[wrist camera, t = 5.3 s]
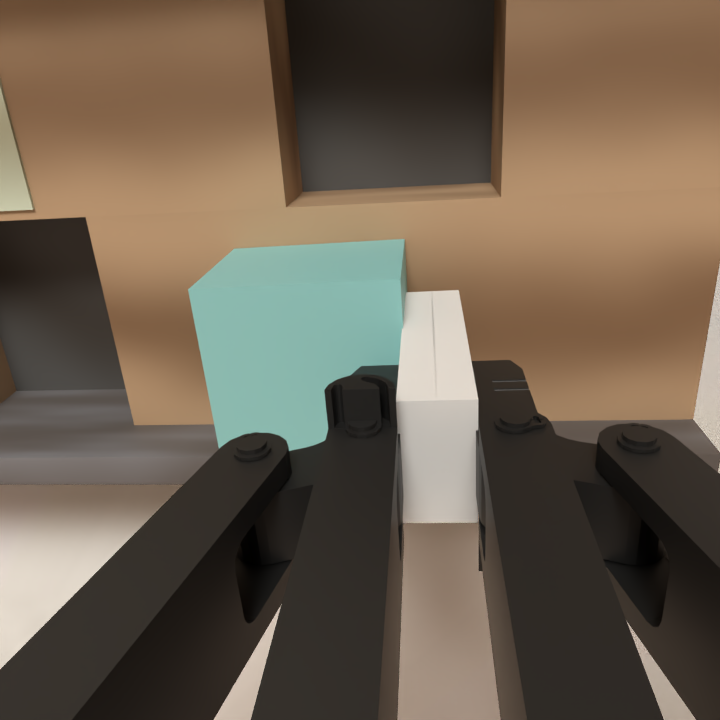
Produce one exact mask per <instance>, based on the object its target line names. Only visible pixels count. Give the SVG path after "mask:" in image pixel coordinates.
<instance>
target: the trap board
mask: <svg viewBox="0 0 720 720" xmlns="http://www.w3.org/2000/svg"><path fill="white" fill-rule="evenodd" d="M394 239H405V254H406V274H407V292H425V291H448V290H459V294H460V300H461V306H462V311H463V317H464V322H465V328H466V333H467V339H468V345H469V350H470V356H471V361H487V360H511V361H512V362H514V363H515V364H516V365H518V366H519V367H521V368H522V369H523V372H524V375H525V378H526V381H527V384H528V386H529V390H530V392H531V395H532V398H533V401H534V403H535V406H536V409H537V412H538V413H539V414H541V415H543V416H545V417H547V418H548V420H549V421H550V422H551V424H552V426H553V428H554V431H555V434H556V435H558V436H561V437H564V438H567V439H570V440H575V441H580V442H586V443H593V444H597V440H598V436H599V433H600V432H601V431H602V430H604V429H605V428H606V427H609V426H613V425H616V424H629V423H639V424H646V425H650V426H652V427H655V428H658V429H661V430H664V431H665V432H667V433H669V434H670V435H672V436H674V437H675V438H676V439H678V440H679V441H680V442H681V443H683V444H684V445H685V446H686V447H687V448H689V449H690V450H691V451H692V452H694V453H695V454H696V455H697V456H698V457H700V458H701V459H702V460H703V461H705V462H706V463H707V464H708V465H709V466H711V467H712V468H713V469H714V470H716V471H717V472H718V468H719V463H720V452H719V451H718V450H717V449H716V447H715V446H714V445H713V444H712V442H711V441H710V440H709V439H708V437H707V436H706V435H705V434H704V432H703V431H702V430H701V429H700V427H699V426H698V425H697V424H696V423H695V421H694V420H693V416H694V410H695V404H696V399H697V393H698V387H699V381H700V375H701V369H702V363H703V357H704V352H705V346H706V340H707V334H708V328H709V322H710V316H711V310H712V305H713V299H714V293H715V287H716V281H717V275H718V269H719V263H720V0H0V484H185V483H186V482H187V481H188V480H189V479H190V478H191V477H192V476H193V475H194V474H195V473H196V472H197V471H198V470H199V469H200V468H201V466H202V465H203V464H204V463H205V462H206V461H207V460H208V459H209V458H210V457H211V456H212V455H213V454H214V453H215V452H216V451H217V450H218V449H219V447H218V441H217V436H216V431H215V426H214V421H213V416H212V411H211V405H210V400H209V395H208V390H207V385H206V380H205V374H204V369H203V364H202V359H201V354H200V349H199V344H198V338H197V333H196V328H195V323H194V318H193V313H192V307H191V302H190V297H189V292H188V289H189V288H190V287H191V286H193V285H194V284H195V283H196V282H197V281H198V280H199V279H200V278H202V277H203V276H204V275H205V274H206V273H207V272H208V271H210V270H211V269H212V268H213V267H214V266H215V265H216V264H217V263H219V262H220V261H221V260H222V259H223V258H224V257H225V256H226V255H228V254H229V253H230V252H231V251H232V250H233V249H237V248H254V247H272V246H289V245H307V244H324V243H342V242H359V241H377V240H394Z"/></svg>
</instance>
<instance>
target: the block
mask: <svg viewBox="0 0 720 720" xmlns="http://www.w3.org/2000/svg"><path fill="white" fill-rule="evenodd" d="M188 292H189V297H190V302H191V307H192V313H193V318H194V323H195V328H196V333H197V338H198V344H199V349H200V354H201V359H202V364H203V369H204V374H205V380H206V385H207V390H208V395H209V400H210V405H211V411H212V416H213V421H214V426H215V431H216V436H217V441H218V447H219V448H220V447H221V446H223V445H224V444H226V443H227V442H228V441H230V440H232V439H234V438H237V437H239V436H241V435H244V434H248V433H249V434H251V433H254V432H259V433H272V434H276V435H279V436H281V437H282V438H284V439H285V440H286V441H287V444H288V447H289V451H291V450H296V449H301V448H306V447H309V446H313V445H316V444H318V443H321V442H323V441H325V440H326V436H327V432H328V421H327V412H326V402H325V393H324V390H325V388H326V387H327V386H328V384H330V383H332V382H333V381H335V380H337V379H340V378H343V377H346V376H350V375H351V374H353V373H354V372H355V371H356V370H357V369H358V368H359V367H361V366H377V365H399V358H400V345H401V333H402V329H403V322H404V309H405V296H406V292H407V274H406V254H405V239H394V240H377V241H359V242H342V243H324V244H307V245H289V246H272V247H254V248H237V249H233V250H232V251H231V252H230V253H229V254H228V255H226V256H225V257H224V258H223V259H222V260H221V261H220V262H219V263H217V264H216V265H215V266H214V267H213V268H212V269H211V270H210V271H208V272H207V273H206V274H205V275H204V276H203V277H202V278H200V279H199V280H198V281H197V282H196V283H195V284H194V285H193V286H191V287H190V288H189V289H188Z"/></svg>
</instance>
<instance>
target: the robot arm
mask: <svg viewBox="0 0 720 720" xmlns="http://www.w3.org/2000/svg"><path fill="white" fill-rule="evenodd" d="M324 393H325V402H326V412H327V421H328V432H327V436H326V440H325V441H323V442H321V443H318V444H316V445H313V446H309V447H306V448H301V449H296V450H291V451H289V447H288V444H287V441H286V440H285V439H284V438H282V437H281V436H279V435H276V434H272V433H259V432H254V433H251V434H249V433H248V434H244V435H241V436H239V437H237V438H234V439H232V440H230V441H228V442H227V443H226V444H224V445H223V446H221V447H220V448H219V449H218V450H217V451H216V452H215V453H214V454H213V455H212V456H211V457H210V458H209V459H208V460H207V461H206V462H205V463H204V464H203V465H202V466H201V468H200V469H199V470H198V471H197V472H196V473H195V474H194V475H193V476H192V477H191V478H190V479H189V480H188V481H187V482H186V483H185V484H184V485H183V486H182V487H181V488H180V489H179V490H178V491H177V492H176V493H175V494H174V495H173V496H172V497H171V498H170V499H169V500H168V501H167V502H166V503H165V504H164V505H163V506H162V507H161V508H160V509H159V510H158V511H157V512H156V513H155V514H154V515H153V516H152V517H151V518H150V519H149V520H148V521H147V522H146V523H145V524H144V525H143V526H142V527H141V528H140V529H139V530H138V531H137V532H136V533H135V534H134V535H133V536H132V537H131V538H130V539H129V540H128V541H127V542H126V543H125V544H124V545H123V546H122V547H121V548H120V549H119V550H118V551H117V552H116V553H115V554H114V555H113V556H112V557H111V558H110V559H109V560H108V561H107V562H106V563H105V564H104V565H103V566H102V567H101V568H100V569H99V570H98V571H97V572H96V573H95V574H94V575H93V576H92V577H91V578H90V579H89V581H88V582H87V583H86V584H85V585H84V586H83V587H82V588H81V589H80V590H79V591H78V592H77V593H76V594H75V595H74V596H73V597H72V598H71V599H70V600H69V601H68V602H67V603H66V604H65V605H64V606H63V607H62V608H61V609H60V610H59V611H58V612H57V613H56V614H55V615H54V616H53V617H52V618H51V619H50V620H49V621H48V622H47V623H46V624H45V625H44V626H43V627H42V628H41V629H40V630H39V631H38V632H37V633H36V634H35V635H34V636H33V637H32V638H31V639H30V640H29V641H28V642H27V643H26V644H25V645H24V646H23V647H22V648H21V649H20V650H19V651H18V652H17V653H16V654H15V655H14V656H13V657H12V658H11V659H10V660H9V661H8V662H7V663H6V664H5V665H4V666H3V667H2V668H1V669H0V720H214V718H215V716H216V714H217V713H218V711H219V709H220V708H221V706H222V704H223V703H224V701H225V699H226V697H227V696H228V694H229V692H230V691H231V689H232V687H233V685H234V684H235V682H236V680H237V679H238V677H239V675H240V674H241V672H242V670H243V668H244V667H245V665H246V663H247V662H248V660H249V658H250V656H251V655H252V653H253V651H254V650H255V648H256V646H257V645H258V643H259V641H260V639H261V638H262V636H263V634H264V633H265V631H266V629H267V628H268V626H269V624H270V622H271V621H272V619H273V617H274V616H275V614H276V612H277V610H278V609H279V607H280V605H281V604H282V605H281V609H280V612H279V616H278V620H277V624H276V627H275V631H274V635H273V639H272V642H271V646H270V650H269V654H268V657H267V661H266V665H265V669H264V672H263V676H262V680H261V684H260V687H259V691H258V695H257V699H256V702H255V706H254V710H253V714H252V717H251V720H397V715H398V687H399V659H400V632H401V604H402V576H403V549H404V534H403V523H478V514H479V571H483V578H484V586H485V594H486V602H487V611H488V619H489V627H490V635H491V643H492V651H493V660H494V668H495V676H496V684H497V692H498V701H499V709H500V717H501V720H664V719H663V716H662V714H661V711H660V709H659V706H658V703H657V701H656V698H655V695H654V693H653V690H652V687H651V685H650V682H649V679H648V677H647V674H646V672H645V669H644V666H643V664H642V661H641V658H640V656H639V653H638V650H637V648H636V645H635V642H634V640H633V637H632V635H631V632H630V629H629V627H628V624H627V622H628V623H629V625H630V626H631V627H632V629H633V630H634V632H635V633H636V635H637V636H638V637H639V639H640V640H641V642H642V643H643V645H644V646H645V647H646V649H647V650H648V652H649V653H650V654H651V656H652V657H653V659H654V660H655V662H656V663H657V664H658V666H659V667H660V669H661V670H662V672H663V673H664V674H665V676H666V677H667V679H668V680H669V682H670V683H671V684H672V686H673V687H674V689H675V690H676V691H677V693H678V694H679V696H680V697H681V699H682V700H683V701H684V703H685V704H686V706H687V707H688V709H689V710H690V711H691V713H692V714H693V716H694V717H695V719H696V720H720V474H719V473H718V472H717V471H716V470H714V469H713V468H712V467H711V466H709V465H708V464H707V463H706V462H705V461H703V460H702V459H701V458H700V457H698V456H697V455H696V454H695V453H694V452H692V451H691V450H690V449H689V448H687V447H686V446H685V445H684V444H683V443H681V442H680V441H679V440H678V439H676V438H675V437H674V436H672V435H670V434H669V433H667V432H665V431H664V430H661V429H658V428H655V427H652V426H650V425H646V424H639V423H629V424H616V425H613V426H609V427H606V428H605V429H604V430H602V431H601V432H600V433H599V436H598V440H597V444H593V443H586V442H580V441H575V440H570V439H567V438H564V437H561V436H558V435H556V434H555V431H554V428H553V426H552V424H551V422H550V421H549V420H548V418H547V417H545V416H543V415H541V414H539V413H538V412H537V409H536V406H535V403H534V401H533V398H532V395H531V392H530V390H529V386H528V384H527V381H526V378H525V375H524V372H523V369H522V368H521V367H519V366H518V365H516V364H515V363H514V362H512V361H511V360H487V361H471V356H470V350H469V345H468V339H467V333H466V328H465V322H464V317H463V311H462V306H461V300H460V294H459V290H448V291H425V292H406V296H405V309H404V322H403V329H402V333H401V345H400V358H399V365H377V366H361V367H359V368H358V369H357V370H356V371H355V372H354V373H353V374H351V375H350V376H346V377H343V378H340V379H337V380H335V381H333V382H332V383H330V384H328V386H327V387H326V388H325V390H324ZM626 620H627V621H626Z"/></svg>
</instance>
